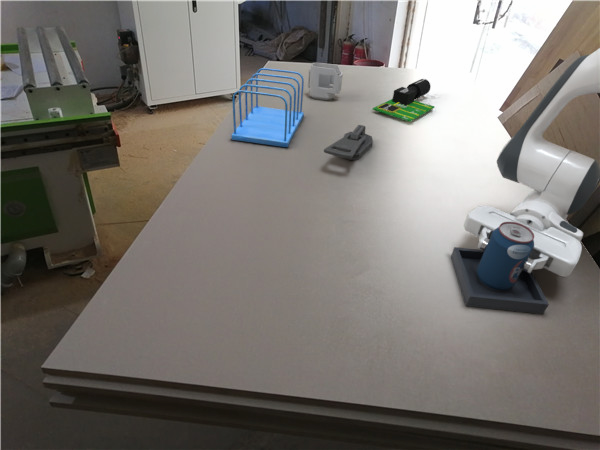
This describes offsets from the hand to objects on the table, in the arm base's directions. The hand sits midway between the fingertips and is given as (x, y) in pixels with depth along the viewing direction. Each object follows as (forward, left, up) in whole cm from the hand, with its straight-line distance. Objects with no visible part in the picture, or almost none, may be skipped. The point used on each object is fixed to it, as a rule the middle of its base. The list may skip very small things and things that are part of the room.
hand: (504, 257), depth 73 cm
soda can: (-1, -1, -7) cm, 7 cm away
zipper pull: (+27, -49, -7) cm, 56 cm away
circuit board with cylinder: (+4, -92, -7) cm, 92 cm away
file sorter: (+53, -63, -7) cm, 83 cm away
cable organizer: (+36, -95, -7) cm, 102 cm away
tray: (-1, -1, -7) cm, 7 cm away
